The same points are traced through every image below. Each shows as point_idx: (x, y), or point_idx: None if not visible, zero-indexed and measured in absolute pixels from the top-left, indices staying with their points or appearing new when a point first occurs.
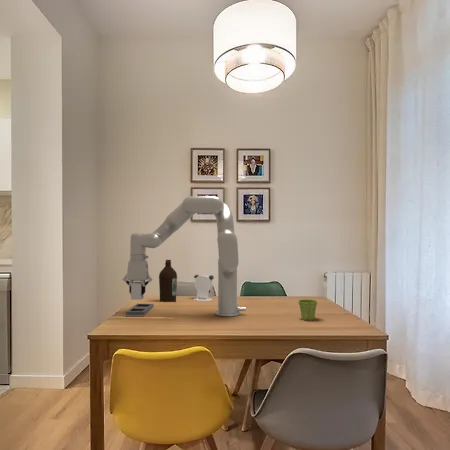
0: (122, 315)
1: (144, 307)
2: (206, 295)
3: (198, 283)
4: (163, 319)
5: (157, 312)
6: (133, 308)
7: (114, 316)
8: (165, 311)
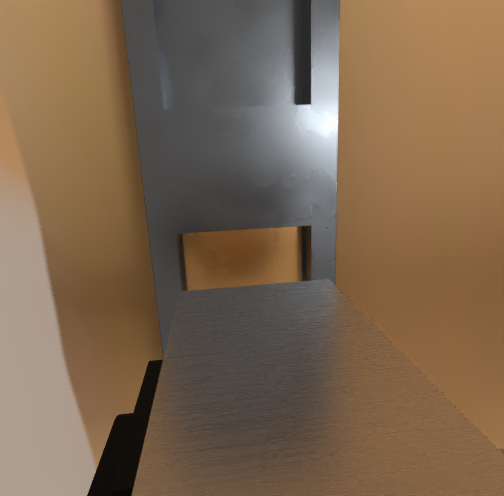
0: (119, 315)
1: (284, 161)
2: None
3: None
4: (469, 393)
5: (396, 150)
6: (182, 231)
7: (67, 360)
8: (464, 93)
